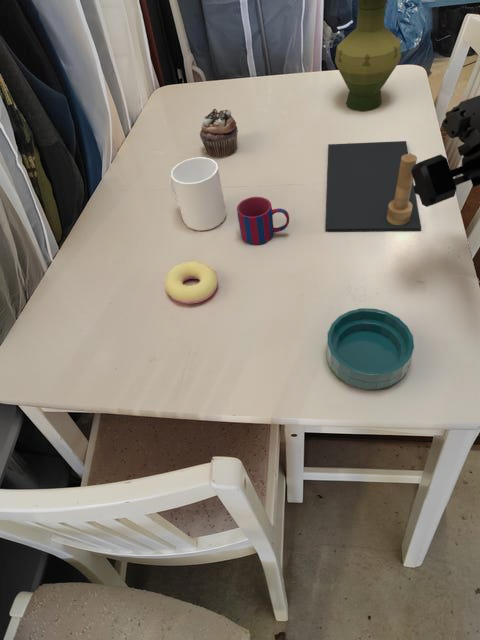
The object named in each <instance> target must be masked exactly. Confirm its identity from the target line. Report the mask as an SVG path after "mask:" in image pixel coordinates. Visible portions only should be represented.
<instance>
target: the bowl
mask: <svg viewBox="0 0 480 640" xmlns="http://www.w3.org/2000/svg"><path fill="white" fill-rule="evenodd" d="M326 338H327V339H326V360H327V363H328V365H329V368H330V369H331V370H332V372H333V373H334V374H335V375H336V377H338V379H340V380H341V381H343V382H344V383H346V385H349V386H352V387H355V388H358V389H361V390H362V389H363V390H379V389H385V388H389V387H391V386H392V385H394V384H396V383H398V382H400V380H401V379H402V378H403V377H404V376H405V375H406V373H408V369H409V366H410V363H411V360H412V357H413V353H414V350H415V342H414V341H415V340H414V336H413V334H412V331H411V330H410V328H409V326H408V325H407V324H406V323H405V322H404V321H402V319H401V318H399V317H398V316H396V315H395V314H393V313H390V312H388V311H386V310H382V309H378V308H369V307H368V308H367V307H365V308H364V307H363V308H357V309H352V310H349V311H347V312H345V313H342V314H341V315H339V316H338V317H337V318H336V319H335V320H334V321H333V322H332V323H331V325H330V327H329V329H328V331H327V337H326Z"/></svg>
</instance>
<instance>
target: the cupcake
mask: <svg viewBox="0 0 480 640" xmlns="http://www.w3.org/2000/svg"><path fill="white" fill-rule="evenodd" d="M238 131H239V129H238V126H237V122H236V120H235V119H234V117H233V116H232V111H231V110H230V109H223V110H220V111H219V112H218V110H217V109H216V108H213V109H212V111H211V112H210V113H209V114H207V115H206V116H204V119H203V121H202V124H201V130H200V132H199V137H200V140H201V142H202V144H203V147H204V150H205V152H206V154H207V155H208V156H209V157H210V158H213V159H215V158H220V159H221V158H225V157H229V156H231V155H233V154H234V153H235V152H236V151H237V148H238Z"/></svg>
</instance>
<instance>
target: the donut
mask: <svg viewBox="0 0 480 640" xmlns="http://www.w3.org/2000/svg"><path fill="white" fill-rule="evenodd" d="M190 279H195V280H198V281H199V282H198V283H195V284H193V285H186V284H184V282H185V281H187V280H190ZM218 283H219V279H218V275H217V273H216V271H215V270H214V268H212V267H211V266H210V265H208V264H207V263H204V262H201V261H194V260H193V261H185V262H181V263H179V264H176V265H175V266H173V268H171V269H170V271H169V272H168V273H167V275H166V277H165V280H164V287H165V290H166V292H167V294H168V295H169V297H170V298H172V299H173V300H174V301H177V302H179V303H182V304H189V305H190V304H191V305H192V304H197V303H202V302H204V301H205V300H207V299H209V298H211V296H212V295H213V294H215V291H216V290H217V288H218Z"/></svg>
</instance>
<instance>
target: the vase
mask: <svg viewBox="0 0 480 640" xmlns="http://www.w3.org/2000/svg"><path fill="white" fill-rule="evenodd" d="M356 1H357V2H356V3H357V17H356V18H357V19H356V28H355V29H353V30H352V31H351V32H350V33H348V35H347V36H346V37H344V38H343V39H342V40H341V41H340V42H339V43H338V44H337V46H336V49H335V50H336V51H335V58H334V63H335V66H336V67H337V70H338V71H339V73H340V75H341V78H342V79H343V81H344V83H345V84H346V87H347V89H348V94H347V97H346V101H345V106H346V108H347V109H349V110H352V111H354V112H370V111H373V110H376V109H378V108H380V106H381V105H382V104H383V99H382V92H381V90H382V88H383V87H384V85H385V84H386V83H387V81H388V79H389V78H390V77H391V75H392V73H393V72H394V71H395V69H396V67H397V66H398V64H400V62H401V58H402V42H401V40H400V39H399V37H397V36H396V35H395V34H394V33H393V32H392V31H390V30H389V29H388V28H387V27H386V26H385V17H386V7H387V3H388V0H356Z"/></svg>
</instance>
